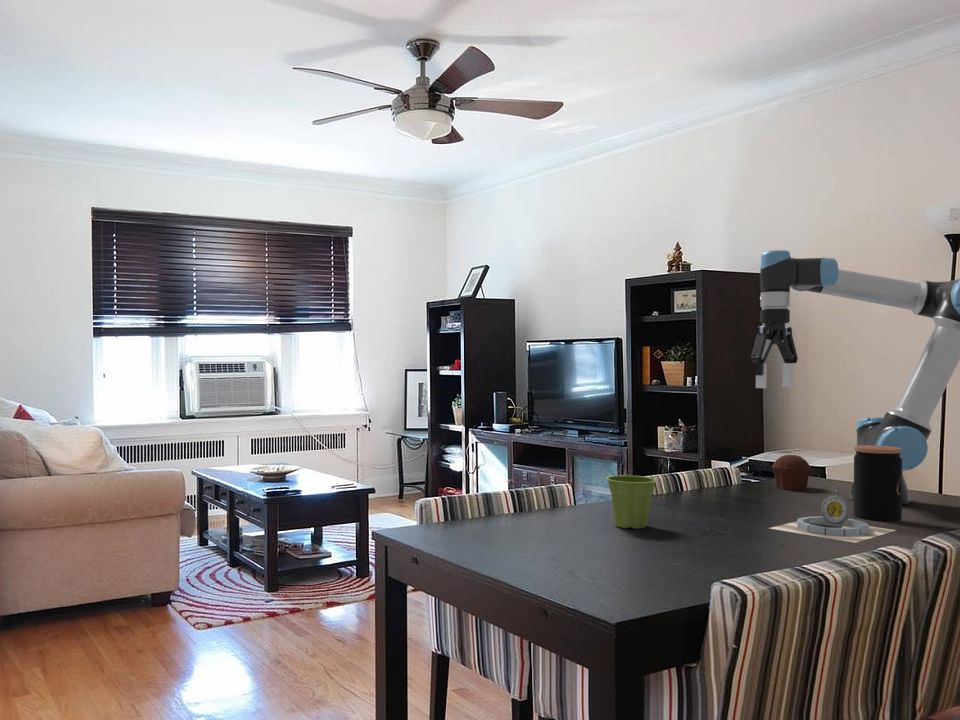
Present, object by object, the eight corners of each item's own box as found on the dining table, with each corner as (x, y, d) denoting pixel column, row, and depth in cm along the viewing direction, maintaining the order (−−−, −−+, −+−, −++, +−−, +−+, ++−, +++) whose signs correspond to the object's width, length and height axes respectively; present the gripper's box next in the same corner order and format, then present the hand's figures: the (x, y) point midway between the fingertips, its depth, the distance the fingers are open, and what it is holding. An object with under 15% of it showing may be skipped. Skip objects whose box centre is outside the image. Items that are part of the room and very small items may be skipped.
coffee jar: (907, 526, 204) (907, 450, 204) (859, 524, 206) (859, 449, 206) (894, 518, 214) (895, 445, 214) (849, 516, 217) (849, 444, 216)
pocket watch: (812, 524, 190) (817, 479, 192) (807, 524, 198) (812, 481, 200) (852, 531, 188) (856, 485, 190) (845, 530, 196) (850, 487, 198)
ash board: (812, 521, 209) (812, 517, 209) (896, 534, 194) (896, 530, 194) (768, 532, 196) (768, 528, 196) (855, 547, 181) (855, 542, 181)
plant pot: (645, 533, 194) (646, 483, 194) (597, 527, 201) (597, 479, 201) (664, 525, 204) (664, 477, 204) (617, 519, 211) (617, 473, 211)
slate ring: (817, 520, 205) (817, 514, 205) (879, 529, 194) (879, 523, 194) (785, 528, 196) (785, 521, 196) (849, 538, 185) (849, 531, 185)
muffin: (805, 492, 255) (805, 458, 255) (767, 489, 262) (767, 456, 262) (814, 487, 265) (814, 454, 265) (777, 484, 271) (777, 452, 271)
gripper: (785, 310, 243) (785, 386, 243) (737, 307, 226) (736, 388, 226) (811, 309, 237) (810, 387, 237) (763, 306, 221) (762, 389, 221)
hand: (774, 387), depth 232 cm, fingers open, 13 cm apart
